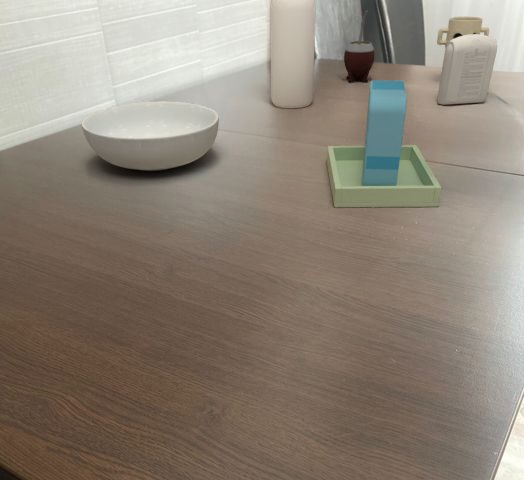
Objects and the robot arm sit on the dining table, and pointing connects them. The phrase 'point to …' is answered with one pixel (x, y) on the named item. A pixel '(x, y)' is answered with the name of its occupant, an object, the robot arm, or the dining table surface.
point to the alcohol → (292, 52)
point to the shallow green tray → (402, 195)
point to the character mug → (461, 28)
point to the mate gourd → (359, 58)
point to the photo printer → (467, 69)
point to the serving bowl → (151, 134)
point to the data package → (384, 133)
